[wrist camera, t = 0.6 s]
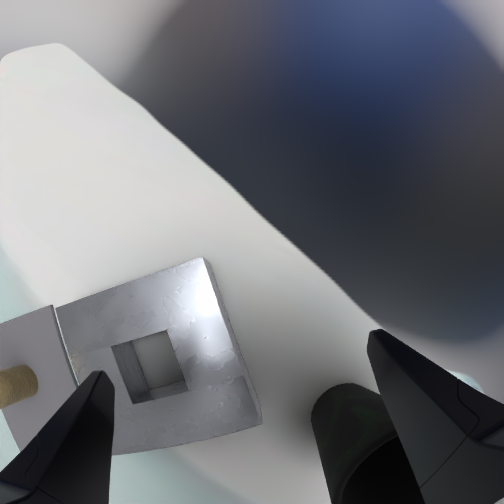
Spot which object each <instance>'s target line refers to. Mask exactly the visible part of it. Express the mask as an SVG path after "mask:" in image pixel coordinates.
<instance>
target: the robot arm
mask: <svg viewBox="0 0 504 504" xmlns="http://www.w3.org/2000/svg"><path fill="white" fill-rule="evenodd" d="M367 354H368V357H369V360H370V364H371V367H372V370H373V373H374V376H375V379H376V383H377V386H378V389H379V392H380V394H381V396H382V399H383V401H384V403H385V406H386V408H387V410H388V412H389V415H390V417H391V419H392V422H393V424H394V426H395V429H396V431H397V433H398V436H399V438H400V440H401V443H402V445H403V448H404V450H405V452H406V455H407V457H408V460H409V462H410V465H411V467H412V470H413V472H414V475H415V477H416V480H417V483H418V485H419V488H420V491H421V493H422V496H423V499H424V501H425V504H504V404H502V403H500V402H498V401H496V400H494V399H492V398H490V397H488V396H486V395H485V394H483V393H481V392H479V391H477V390H476V389H474V388H472V387H471V386H469V385H468V384H466V383H464V382H463V381H461V380H460V379H457V377H455V376H454V375H452V374H451V373H449V372H448V371H446V370H444V369H443V368H441V367H440V366H438V365H437V364H435V363H434V362H432V361H431V360H429V359H428V358H426V357H425V356H423V355H422V354H420V353H418V352H417V351H415V350H414V349H412V348H411V347H409V346H408V345H406V344H405V343H403V342H402V341H400V340H398V339H397V338H395V337H394V336H392V335H391V334H389V333H388V332H386V331H385V330H383V329H377V330H373V331H371V332H370V333H369V338H368V344H367ZM114 415H115V388H114V385H113V383H112V381H111V380H110V378H109V377H108V375H107V374H106V372H105V371H104V370H94V371H92V372H91V373H90V374H89V376H88V377H87V378H86V379H85V380H84V381H83V382H82V383H81V384H80V385H79V387H78V388H77V389H76V390H75V391H74V392H73V393H72V394H71V396H70V397H69V398H68V399H67V400H66V401H65V402H64V403H63V405H62V406H61V407H60V408H59V409H58V410H57V411H56V412H55V414H54V415H53V416H52V417H51V418H50V419H49V420H48V422H47V423H46V424H45V425H44V426H43V427H42V428H41V430H40V431H39V432H38V433H37V435H35V437H34V438H33V439H32V440H31V441H30V442H29V443H28V445H27V446H26V447H25V448H24V449H23V450H22V451H21V452H20V453H19V454H18V455H17V456H16V457H15V458H14V459H13V460H12V461H11V462H10V463H9V464H8V465H7V466H6V467H5V468H4V469H3V470H2V471H1V472H0V504H109V485H110V469H111V457H112V446H113V436H114Z"/></svg>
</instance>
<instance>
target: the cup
mask: <svg viewBox="0 0 504 504" xmlns="http://www.w3.org/2000/svg"><path fill="white" fill-rule="evenodd" d="M311 422H312V426H313V430H314V434H315V438H316V442H317V446H318V450H319V454H320V458H321V462H322V466H323V470H324V475H325V479H326V483H327V487H328V491H329V495H330V499H331V503H332V504H425V501H424V499H423V496H422V493H421V491H420V488H419V485H418V483H417V480H416V477H415V475H414V472H413V470H412V467H411V465H410V462H409V460H408V457H407V455H406V452H405V450H404V448H403V445H402V443H401V440H400V438H399V436H398V433H397V431H396V429H395V426H394V424H393V422H392V419H391V417H390V415H389V412H388V410H387V408H386V406H385V403H384V401H383V399H382V396H381V395H380V394H377V393H375V392H373V391H371V390H369V389H367V388H364V387H362V386H360V385H356V384H349V383H345V384H341V385H337V386H335V387H332V388H330V389H329V390H327V391H326V392H325V393H323V394H322V395H321V396H320V398H319V399H318V400H317V402H316V403H315V405H314V407H313V410H312V414H311Z"/></svg>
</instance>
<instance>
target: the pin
mask: <svg viewBox="0 0 504 504" xmlns="http://www.w3.org/2000/svg"><path fill="white" fill-rule="evenodd" d="M37 391H38V380H37V377H36V375H35V373H34V372H33V370H32V369H31V368H30V367H28V366H27V365H18V366H14V367H10V368H6V369H2V370H0V409H2V408H5V407H7V406H10V405H12V404H15V403H17V402H20V401H22V400H24V399H27V398H29V397H32V396H34V395H35V394H36V393H37Z"/></svg>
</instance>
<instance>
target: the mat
mask: <svg viewBox="0 0 504 504" xmlns="http://www.w3.org/2000/svg"><path fill="white" fill-rule="evenodd" d="M18 365H27V366H28V367H30V368H31V369H32V370H33V372H34V373H35V375H36V377H37V380H38V391H37V393H36V394H35V395H34V396H32V397H29V398H27V399H24V400H22V401H20V402H17V403H15V404H12V405H10V406H7V407H5V408H2V412H3V414H4V417H5V419H6V421H7V424H8V426H9V428H10V431H11V433H12V435H13V437H14V439H15V441H16V444H17V446H18V448H19V450H20V452H21V451H22V450H23V449H24V448H25V447H26V446H27V445H28V443H29V442H30V441H31V440H32V439H33V438H34V437H35V435H37V433H38V432H39V431H40V430H41V428H42V427H43V426H44V425H45V424H46V423H47V422H48V420H49V419H50V418H51V417H52V416H53V415H54V414H55V412H56V411H57V410H58V409H59V408H60V407H61V406H62V405H63V403H64V402H65V401H66V400H67V399H68V398H69V397H70V396H71V394H72V393H73V392H74V391H75V390H76V389H77V388H78V385H77V382H76V380H75V377H74V374H73V371H72V369H71V366H70V363H69V360H68V357H67V354H66V351H65V348H64V344H63V341H62V338H61V335H60V331H59V328H58V324H57V321H56V317H55V313H54V309H53V305H50V306H47V307H44V308H41V309H39V310H36V311H33V312H31V313H28V314H25V315H23V316H20V317H17V318H15V319H12V320H9V321H7V322H4V323H1V324H0V370H2V369H6V368H10V367H14V366H18Z"/></svg>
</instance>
